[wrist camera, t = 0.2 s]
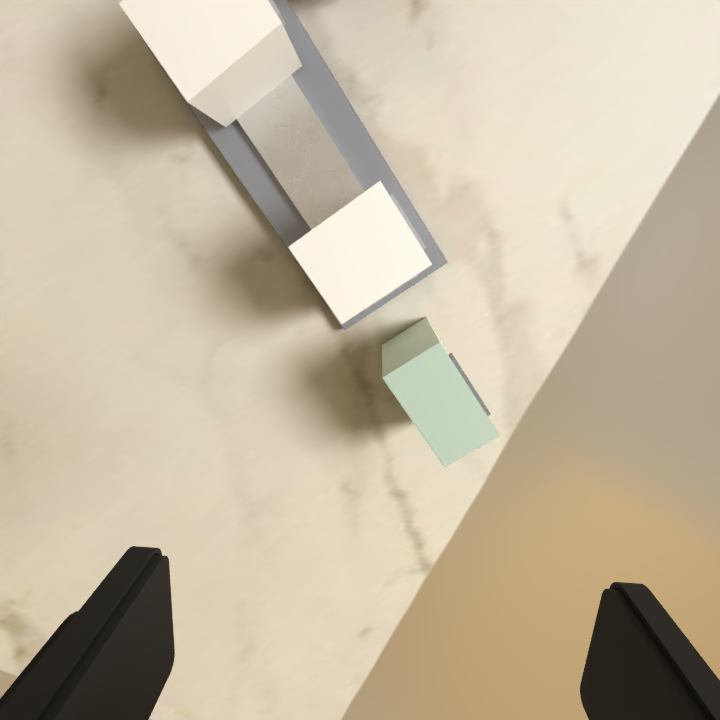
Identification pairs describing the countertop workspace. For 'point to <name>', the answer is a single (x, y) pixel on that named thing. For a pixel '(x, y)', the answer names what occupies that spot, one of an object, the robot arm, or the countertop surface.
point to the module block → (436, 393)
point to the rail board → (293, 145)
